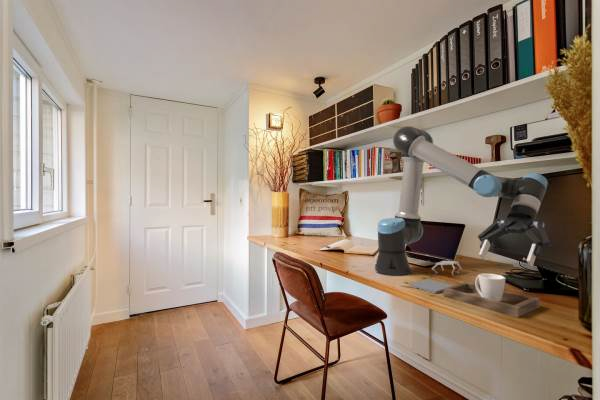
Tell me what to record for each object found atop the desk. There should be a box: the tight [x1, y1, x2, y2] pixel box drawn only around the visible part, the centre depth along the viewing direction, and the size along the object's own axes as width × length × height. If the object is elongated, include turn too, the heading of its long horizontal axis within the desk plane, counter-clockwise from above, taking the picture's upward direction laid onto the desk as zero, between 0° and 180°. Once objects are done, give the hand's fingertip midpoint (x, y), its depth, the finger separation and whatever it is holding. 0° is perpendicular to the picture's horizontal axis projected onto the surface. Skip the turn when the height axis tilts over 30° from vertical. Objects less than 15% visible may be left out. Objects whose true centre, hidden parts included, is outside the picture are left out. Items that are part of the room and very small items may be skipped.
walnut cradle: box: [443, 281, 540, 318], centre depth 89 cm, size 21×13×2 cm, turn 31°
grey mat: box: [407, 278, 454, 294], centre depth 104 cm, size 11×11×1 cm
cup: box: [474, 273, 506, 302], centre depth 89 cm, size 7×10×8 cm
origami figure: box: [431, 260, 463, 276], centre depth 123 cm, size 12×8×5 cm
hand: (503, 260), depth 92 cm, fingers open, 13 cm apart
